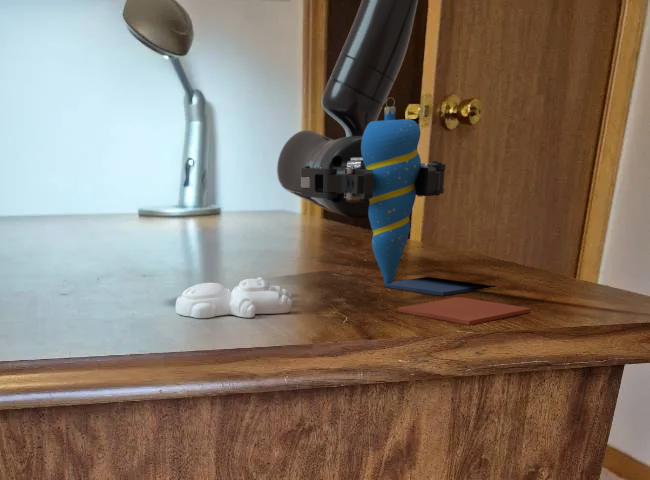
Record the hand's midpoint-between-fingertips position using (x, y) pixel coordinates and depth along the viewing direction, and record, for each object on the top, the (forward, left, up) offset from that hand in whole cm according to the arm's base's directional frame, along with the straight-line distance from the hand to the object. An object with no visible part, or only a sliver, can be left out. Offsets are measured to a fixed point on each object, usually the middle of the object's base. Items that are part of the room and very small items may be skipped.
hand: (400, 183), depth 66 cm
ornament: (-1, -2, -9) cm, 9 cm away
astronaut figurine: (+6, -16, -12) cm, 21 cm away
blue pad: (-20, -12, -12) cm, 27 cm away
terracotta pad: (-10, 0, -12) cm, 16 cm away
